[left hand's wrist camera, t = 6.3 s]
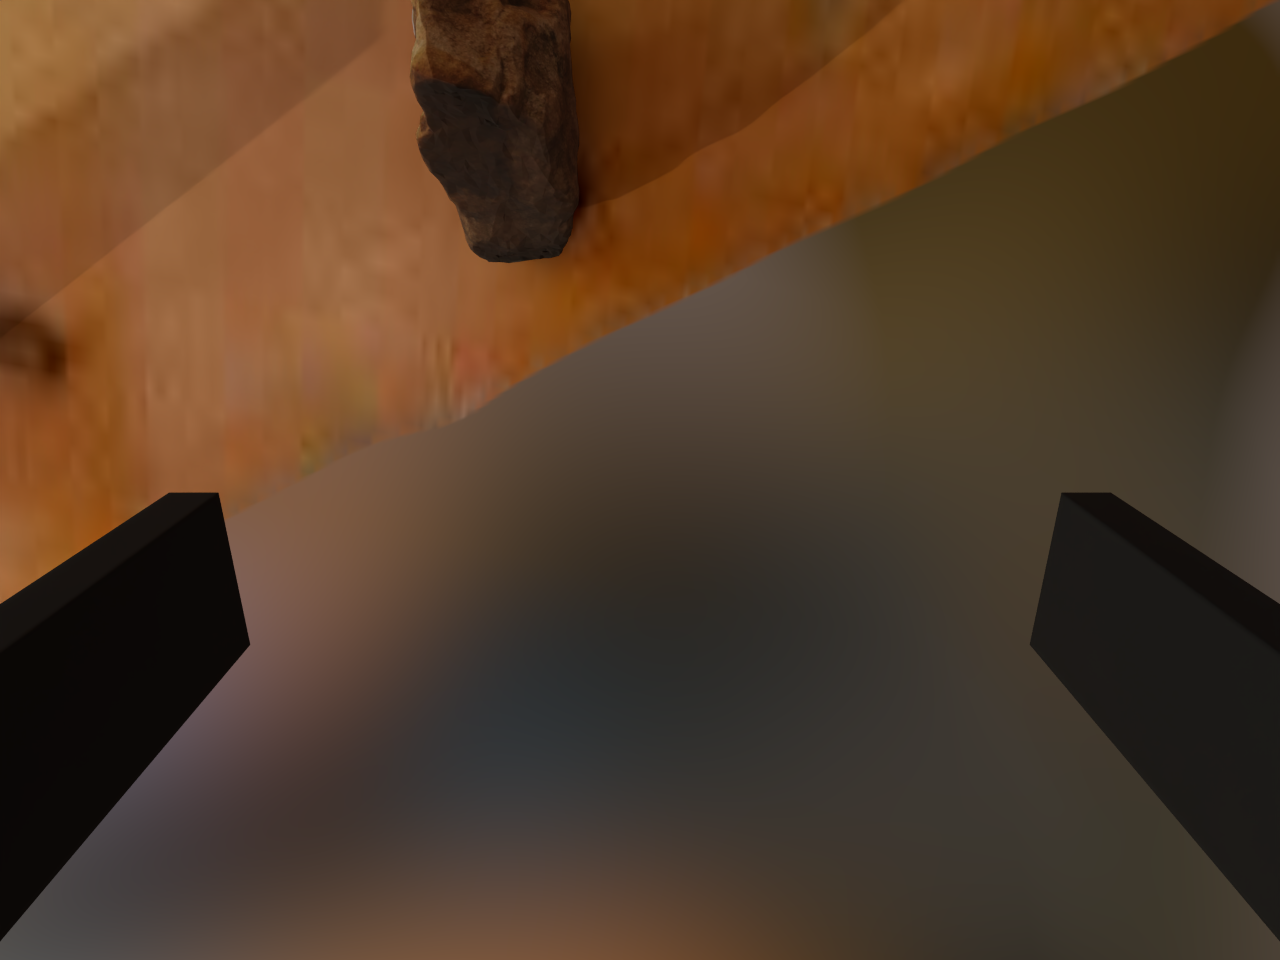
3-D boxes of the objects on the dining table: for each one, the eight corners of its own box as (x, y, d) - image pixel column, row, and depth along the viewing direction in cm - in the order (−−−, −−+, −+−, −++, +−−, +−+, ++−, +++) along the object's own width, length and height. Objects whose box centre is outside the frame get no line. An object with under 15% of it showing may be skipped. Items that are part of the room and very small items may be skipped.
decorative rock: (450, -29, 34) (370, -119, 24) (590, -22, 34) (569, -108, 24) (461, 256, 38) (397, 283, 28) (585, 262, 38) (565, 291, 28)
